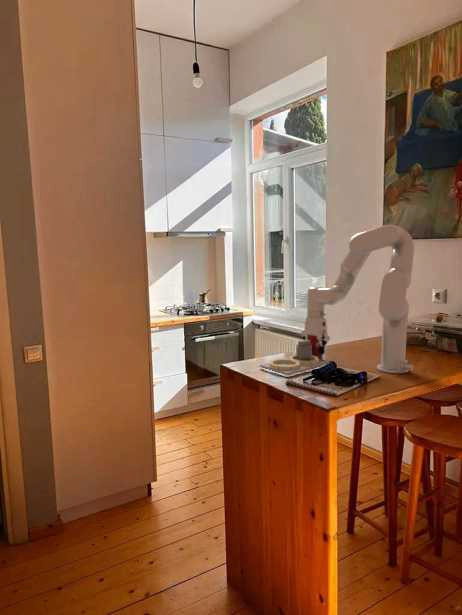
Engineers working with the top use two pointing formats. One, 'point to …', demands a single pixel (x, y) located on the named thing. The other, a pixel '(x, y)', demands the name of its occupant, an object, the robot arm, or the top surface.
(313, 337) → the soda can
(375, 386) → the top surface
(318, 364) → the octagonal socket board
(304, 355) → the seated plug
